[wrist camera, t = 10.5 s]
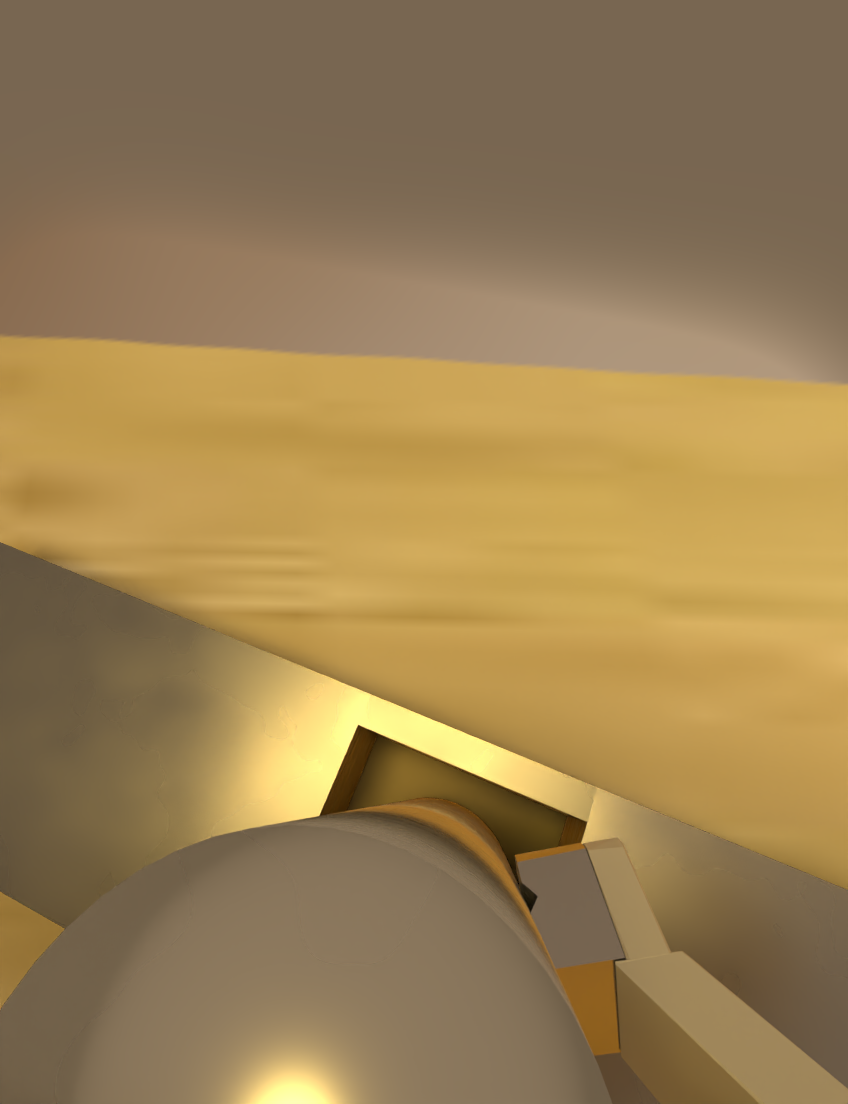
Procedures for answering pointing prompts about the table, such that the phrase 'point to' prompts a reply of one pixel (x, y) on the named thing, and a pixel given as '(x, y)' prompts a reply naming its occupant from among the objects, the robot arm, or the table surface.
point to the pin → (305, 976)
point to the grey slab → (331, 791)
